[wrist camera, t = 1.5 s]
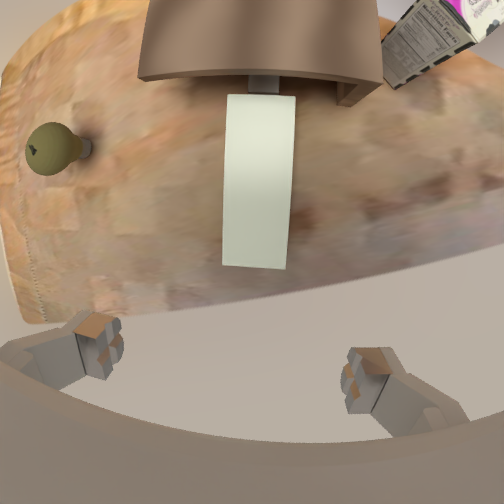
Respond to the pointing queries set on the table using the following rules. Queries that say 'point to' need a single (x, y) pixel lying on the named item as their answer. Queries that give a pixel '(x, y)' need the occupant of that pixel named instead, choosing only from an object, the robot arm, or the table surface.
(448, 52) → the candy bar box
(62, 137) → the light bulb
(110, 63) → the table surface
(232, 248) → the mint green beam
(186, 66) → the walnut shelf
